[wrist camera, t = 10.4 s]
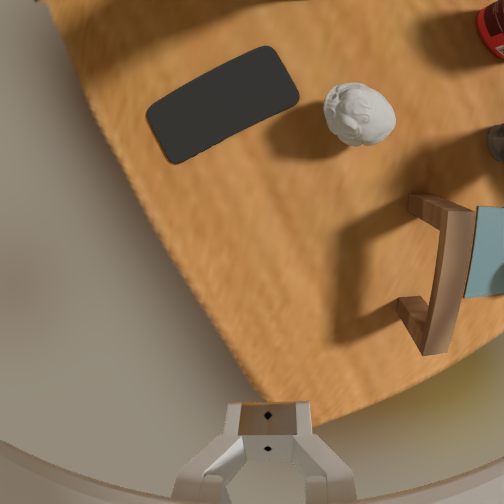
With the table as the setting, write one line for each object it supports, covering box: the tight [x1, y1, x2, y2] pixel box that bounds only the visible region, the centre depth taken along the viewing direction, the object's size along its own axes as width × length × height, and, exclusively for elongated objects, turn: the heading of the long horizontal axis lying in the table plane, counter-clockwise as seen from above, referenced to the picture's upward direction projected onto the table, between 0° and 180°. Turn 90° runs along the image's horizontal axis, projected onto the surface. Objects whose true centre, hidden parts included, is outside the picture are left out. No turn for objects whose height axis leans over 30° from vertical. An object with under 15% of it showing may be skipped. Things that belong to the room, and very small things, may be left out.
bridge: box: [397, 193, 475, 356], centre depth 28 cm, size 3×14×9 cm, turn 3°
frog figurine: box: [323, 83, 396, 147], centre depth 25 cm, size 6×7×7 cm
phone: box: [147, 46, 299, 163], centre depth 29 cm, size 7×1×15 cm
